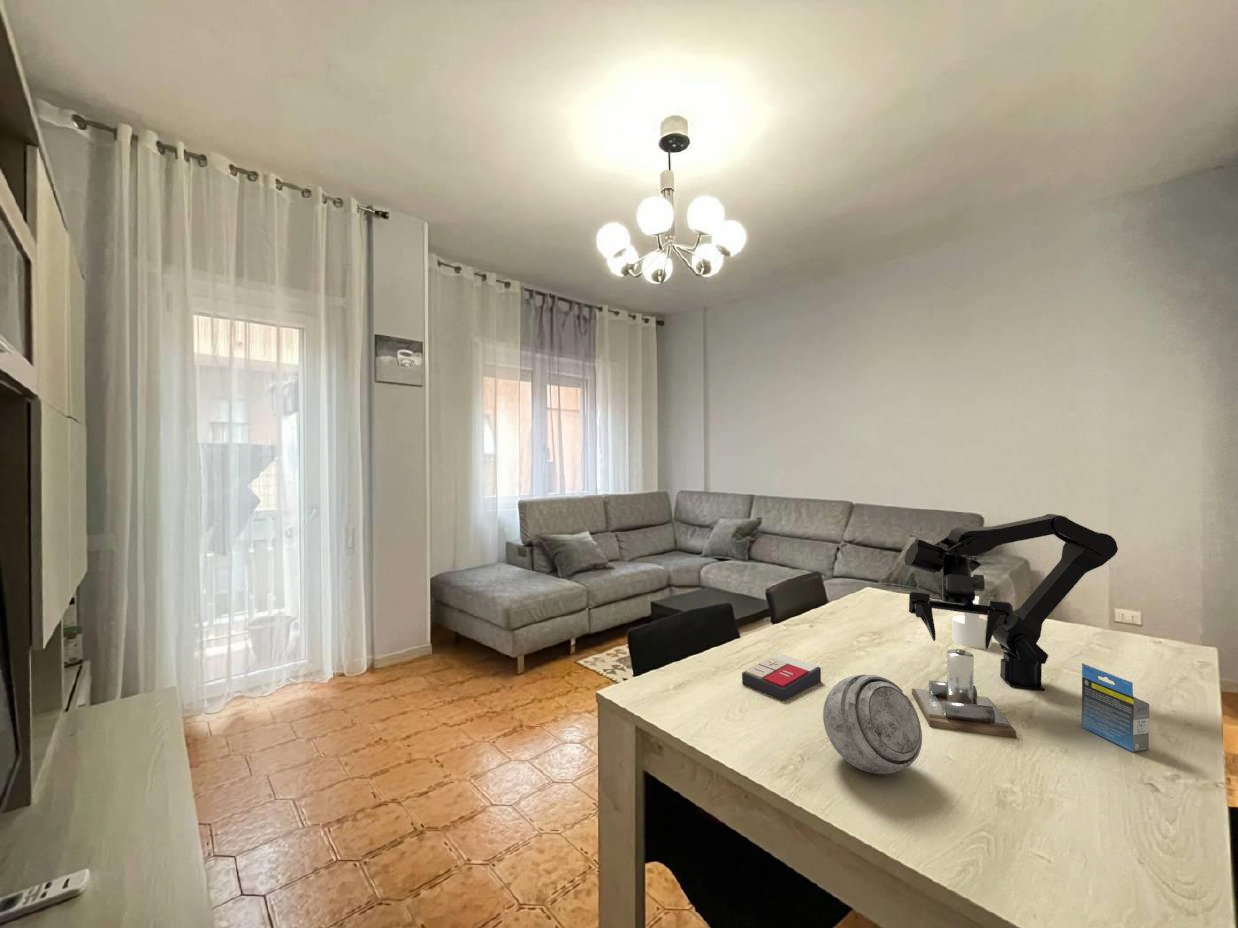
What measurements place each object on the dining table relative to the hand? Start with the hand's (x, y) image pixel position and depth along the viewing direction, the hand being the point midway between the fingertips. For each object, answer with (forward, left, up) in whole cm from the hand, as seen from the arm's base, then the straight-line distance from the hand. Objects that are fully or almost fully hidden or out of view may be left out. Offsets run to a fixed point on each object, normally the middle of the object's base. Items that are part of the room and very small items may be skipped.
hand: (960, 643), depth 109 cm
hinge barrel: (+2, +5, -11) cm, 13 cm away
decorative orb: (+22, +30, -13) cm, 39 cm away
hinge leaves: (+2, +6, -11) cm, 13 cm away
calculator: (+36, +1, -13) cm, 38 cm away
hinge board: (+2, +6, -12) cm, 14 cm away
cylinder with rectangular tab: (-14, -40, -13) cm, 45 cm away
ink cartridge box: (-22, +8, -13) cm, 27 cm away
